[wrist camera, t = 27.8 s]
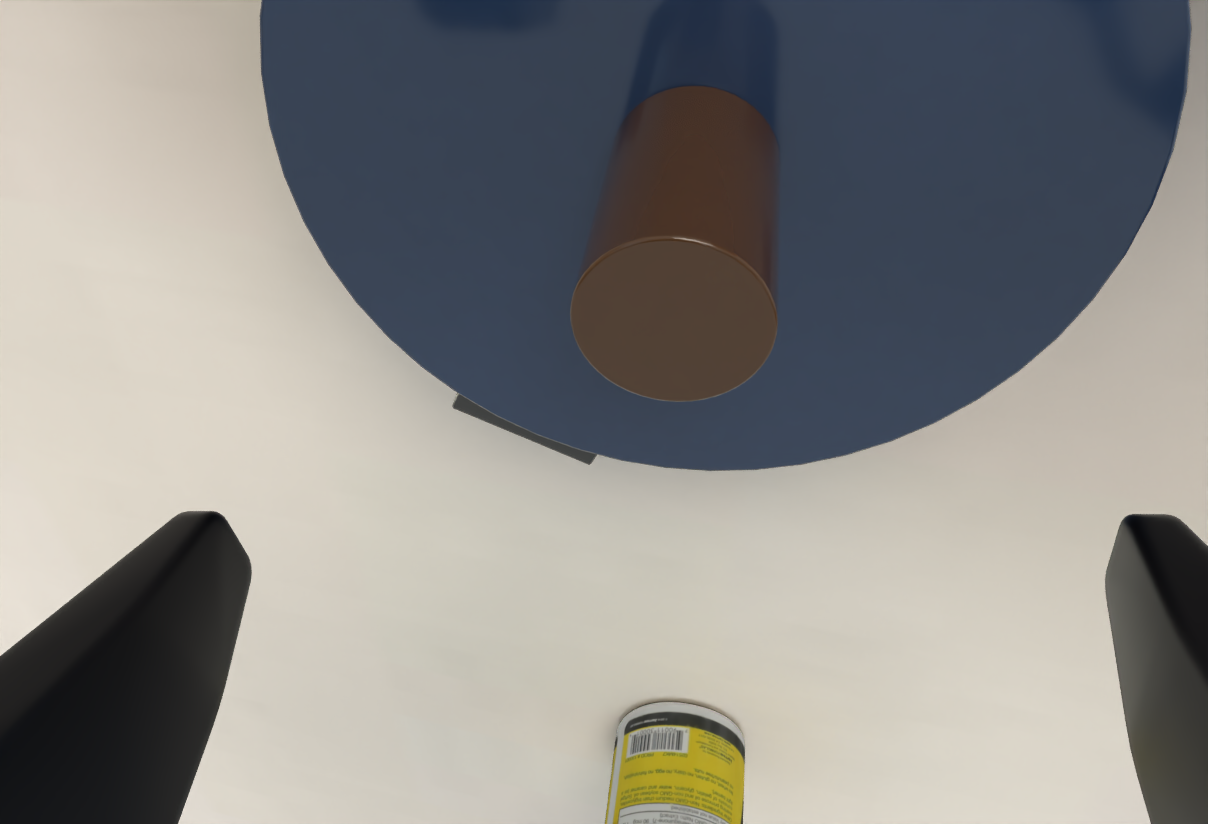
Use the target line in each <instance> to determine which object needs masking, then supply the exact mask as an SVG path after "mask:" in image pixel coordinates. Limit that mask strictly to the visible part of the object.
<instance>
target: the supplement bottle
mask: <svg viewBox="0 0 1208 824" xmlns="http://www.w3.org/2000/svg"><path fill="white" fill-rule="evenodd" d="M744 764H745V742H744V738H743V735H742V733H741V731H740V730H739V728H738V727H737V726H736V725H735V724H734V723H733V722H732V721H731V720H730V719H728V718H727V717H725V716H724V715H722V714H720V713H718V712H716V711H713V710H710V709H708V708H704V707H701V706H697V705H692V704H687V703H681V702H659V703H652V704H648V705H645V706H642V707H639V708H637V709H635V710H633V711H631V712H630V713H629V714H627V715H626V716H625V717H624V719H623V720H622V721H621V723H620V725H619V727H618V730H617V735H616V740H615V748H614V756H613V764H612V772H611V780H610V787H609V795H608V804H607V811H606V818H605V824H743V803H744V802H743V799H744Z"/></svg>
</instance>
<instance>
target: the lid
mask: <svg viewBox="0 0 1208 824" xmlns="http://www.w3.org/2000/svg"><path fill="white" fill-rule="evenodd" d="M1191 31H1192V24H1191V11H1190V0H262V1H261V9H260V45H261V75H262V81H263V88H264V94H265V101H266V107H267V113H268V120H269V126H270V130H271V133H272V136H273V140H274V143H275V147H276V150H277V154H278V157H279V160H280V164H281V167H282V171H283V174H284V177H285V179H286V182H287V184H288V186H289V189H290V191H291V193H292V196H293V198H294V200H295V203H296V205H297V207H298V210H299V212H300V214H301V217H302V219H303V221H304V223H305V225H306V227H307V228H308V230H309V232H310V234H311V235H312V237H313V239H314V241H315V242H316V244H317V246H318V248H319V249H320V251H321V253H322V255H323V256H324V258H325V260H326V261H327V263H328V265H329V266H330V267H331V269H332V270H333V272H334V273H335V274H336V276H337V277H338V278H339V280H340V281H341V282H342V284H343V285H344V287H345V288H346V289H347V291H348V292H349V293H350V295H351V296H352V297H353V299H354V300H355V301H356V303H357V304H358V305H359V306H360V307H361V308H362V309H363V310H364V311H365V313H366V314H367V315H368V316H369V317H370V318H371V319H372V320H373V321H374V322H375V324H376V325H377V326H378V327H379V328H380V329H381V330H382V331H383V332H384V333H385V334H386V336H387V337H388V338H390V339H391V340H392V341H393V342H394V343H395V344H396V345H397V346H399V347H400V348H401V349H402V350H403V351H404V352H405V353H406V354H408V355H409V356H410V357H411V358H412V359H413V360H414V361H416V362H417V363H418V364H419V365H420V366H421V367H422V368H424V369H425V370H426V371H428V372H429V373H431V374H432V375H433V376H435V377H436V378H438V379H439V380H440V381H442V382H443V383H444V384H446V385H447V386H449V387H450V388H451V389H453V390H454V391H456V392H457V393H458V394H460V395H462V396H463V397H465V398H467V399H469V400H470V401H472V402H474V403H475V404H477V405H479V406H481V407H482V408H484V409H486V410H487V411H489V412H491V413H492V414H494V415H496V416H498V417H500V418H502V419H504V420H506V421H509V422H511V423H513V424H515V425H517V426H519V427H521V428H524V429H526V430H528V431H530V432H532V433H534V434H537V435H539V436H542V437H545V438H548V439H550V440H553V441H556V442H559V443H562V444H564V445H567V446H570V447H573V448H576V449H578V450H582V451H586V452H590V453H594V454H598V455H602V456H606V457H609V458H613V459H617V460H621V461H627V462H633V463H639V464H646V465H652V466H658V467H664V468H677V469H691V470H705V471H726V470H759V469H768V468H776V467H785V466H794V465H802V464H807V463H811V462H816V461H821V460H826V459H831V458H836V457H840V456H845V455H848V454H852V453H855V452H858V451H861V450H865V449H868V448H871V447H874V446H878V445H881V444H884V443H887V442H891V441H893V440H895V439H898V438H900V437H902V436H905V435H907V434H910V433H912V432H914V431H917V430H919V429H922V428H924V427H926V426H929V425H931V424H934V423H936V422H937V421H939V420H941V419H943V418H945V417H947V416H948V415H950V414H952V413H954V412H956V411H958V410H960V409H961V408H963V407H965V406H967V405H969V404H971V403H972V402H974V401H976V400H978V399H979V398H981V397H982V396H984V395H985V394H987V393H988V392H989V391H991V390H992V389H994V388H995V387H997V386H998V385H1000V384H1001V383H1003V382H1004V381H1005V380H1007V379H1008V378H1010V377H1011V376H1013V375H1014V374H1016V373H1017V372H1019V371H1020V370H1021V369H1022V368H1023V367H1024V366H1026V365H1027V364H1028V363H1029V362H1030V361H1031V360H1033V359H1034V358H1035V357H1036V356H1037V355H1038V354H1040V353H1041V352H1042V351H1043V350H1044V349H1045V348H1047V347H1048V346H1049V345H1050V344H1051V343H1052V342H1053V341H1055V340H1056V339H1057V338H1058V337H1059V336H1060V335H1061V334H1062V333H1063V332H1064V330H1065V329H1066V328H1067V327H1068V326H1069V325H1070V324H1071V323H1072V322H1073V321H1074V320H1075V319H1076V317H1077V316H1078V315H1079V314H1080V313H1081V312H1082V311H1083V310H1084V309H1085V308H1086V307H1087V306H1088V304H1089V303H1090V302H1091V301H1092V300H1093V299H1094V298H1095V296H1096V295H1097V294H1098V292H1099V291H1100V289H1101V288H1102V287H1103V285H1104V284H1105V282H1106V281H1107V280H1108V278H1109V277H1110V276H1111V274H1112V273H1113V271H1114V270H1115V269H1116V267H1117V266H1118V264H1119V263H1120V262H1121V260H1122V259H1123V258H1124V256H1125V255H1126V253H1127V251H1128V249H1129V247H1130V246H1131V244H1132V242H1133V240H1134V238H1135V236H1136V234H1137V233H1138V231H1139V229H1140V227H1141V225H1142V223H1143V222H1144V220H1145V218H1146V216H1147V214H1148V212H1149V211H1150V209H1151V207H1152V205H1153V202H1154V200H1155V197H1156V194H1157V192H1158V189H1159V187H1160V184H1161V181H1162V179H1163V176H1164V173H1165V171H1166V168H1167V166H1168V163H1169V160H1170V158H1171V155H1172V152H1173V150H1174V146H1175V141H1176V137H1177V132H1178V128H1179V124H1180V119H1181V115H1182V110H1183V106H1184V102H1185V97H1186V93H1187V85H1188V71H1189V58H1190V44H1191Z"/></svg>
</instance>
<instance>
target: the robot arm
mask: <svg viewBox="0 0 1208 824" xmlns="http://www.w3.org/2000/svg"><path fill="white" fill-rule="evenodd" d="M251 573H252V570H251V563H250V559H249V557H248V555H247V553H246V552H245V550H244V548H243V547H242V545H241V543H240V542H239V540H238V538H237V537H236V535H235V533H234V532H233V530H232V528H231V527H230V525H229V523H228V522H227V520H226V519H225V517H224V516H223V515H221V514H220V513H218V512H214V511H187V512H183V513H180V514H178V515H177V516H175V517H174V518H172V519H171V520H170V521H169V522H167V523H166V524H165V525H164V526H162V527H161V528H160V529H159V530H157V531H156V532H155V533H154V534H152V535H151V536H150V537H149V538H147V539H146V540H145V541H144V542H142V543H141V544H140V545H139V546H137V547H136V548H135V549H134V550H132V551H131V552H130V553H129V554H127V555H126V556H125V557H124V558H122V559H121V560H120V561H119V562H117V563H116V564H115V565H114V566H112V567H111V568H110V569H109V570H107V571H106V572H105V573H104V574H102V575H101V576H100V577H99V578H97V579H96V580H95V581H94V582H92V583H91V584H90V585H89V586H87V587H86V588H85V589H84V590H82V591H81V592H80V593H79V594H77V595H76V596H75V597H74V598H72V599H71V600H70V601H69V602H67V603H66V604H65V605H64V606H62V607H61V608H60V609H59V610H57V611H56V612H55V613H54V614H52V615H51V616H50V617H49V618H47V619H46V620H45V621H44V622H42V623H41V624H40V625H39V626H37V627H36V628H35V629H34V630H32V631H31V632H30V633H29V634H27V635H26V636H25V637H24V638H22V639H21V640H20V641H19V642H17V643H16V644H15V645H14V646H12V647H11V648H10V649H9V650H7V651H6V652H5V653H4V654H2V655H1V656H0V824H178V822H179V819H180V817H181V814H182V811H183V808H184V805H185V803H186V800H187V797H188V794H189V792H190V789H191V786H192V783H193V780H194V778H195V775H196V772H197V769H198V767H199V764H200V761H201V758H202V755H203V753H204V750H205V747H206V744H207V741H208V739H209V736H210V733H211V730H212V728H213V725H214V721H215V718H216V715H217V712H218V709H219V706H220V703H221V699H222V696H223V692H224V688H225V685H226V681H227V676H228V672H229V668H230V664H231V660H232V656H233V652H234V648H235V644H236V640H237V636H238V631H239V627H240V623H241V619H242V615H243V611H244V607H245V603H246V599H247V595H248V590H249V586H250V582H251ZM1105 590H1106V599H1107V606H1108V612H1109V618H1110V625H1111V631H1112V638H1113V644H1114V650H1115V657H1116V663H1117V670H1118V676H1119V682H1120V689H1121V695H1122V701H1123V708H1124V714H1125V721H1126V727H1127V732H1128V738H1129V743H1130V749H1131V753H1132V757H1133V761H1134V765H1135V769H1136V773H1137V777H1138V780H1139V784H1140V787H1141V790H1142V794H1143V797H1144V801H1145V804H1146V808H1147V811H1148V815H1149V818H1150V822H1151V824H1208V546H1207V545H1206V544H1205V543H1204V542H1203V541H1202V540H1201V539H1200V538H1199V537H1198V536H1197V535H1196V534H1195V533H1194V532H1193V531H1192V530H1191V529H1190V528H1189V527H1188V526H1187V525H1186V524H1185V523H1183V522H1182V521H1181V520H1180V519H1178V518H1177V517H1175V516H1172V515H1166V514H1132V515H1128V516H1126V517H1125V518H1124V519H1123V520H1122V522H1121V524H1120V526H1119V530H1118V533H1117V536H1116V540H1115V543H1114V546H1113V550H1112V553H1111V557H1110V560H1109V563H1108V567H1107V571H1106V578H1105Z"/></svg>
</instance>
